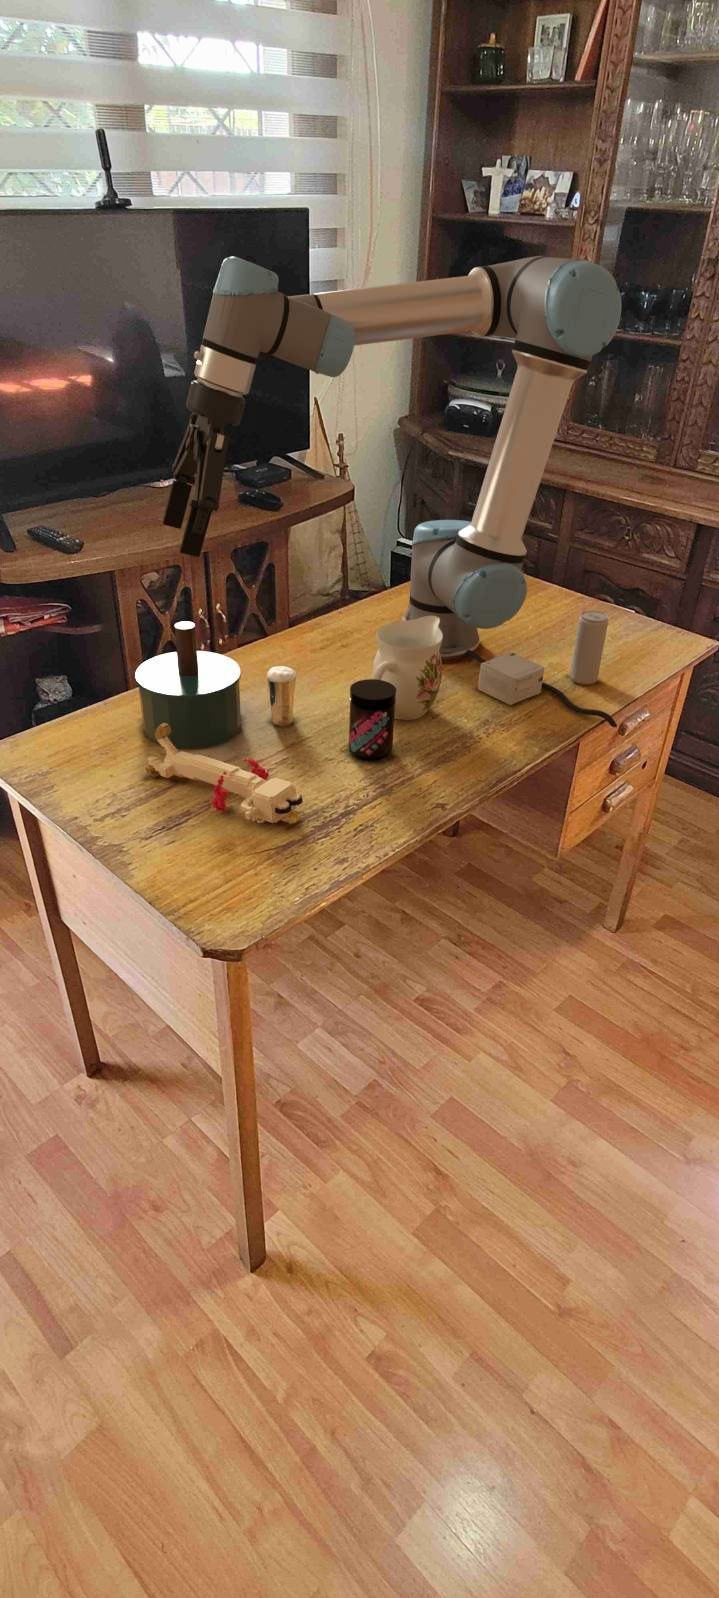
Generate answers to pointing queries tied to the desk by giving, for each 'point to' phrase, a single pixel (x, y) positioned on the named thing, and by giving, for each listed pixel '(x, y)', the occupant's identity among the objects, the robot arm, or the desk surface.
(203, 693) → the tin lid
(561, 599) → the desk surface
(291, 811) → the blocky axolotl figure
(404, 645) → the pitcher
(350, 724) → the supplement container
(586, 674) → the beverage can
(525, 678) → the small box
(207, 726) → the tin
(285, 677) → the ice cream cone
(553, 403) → the robot arm
